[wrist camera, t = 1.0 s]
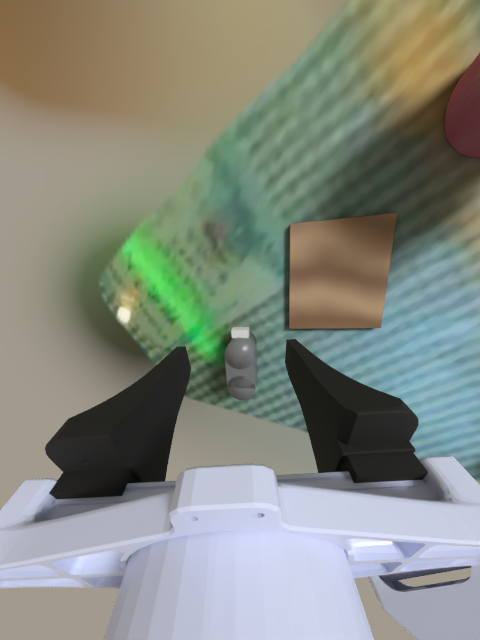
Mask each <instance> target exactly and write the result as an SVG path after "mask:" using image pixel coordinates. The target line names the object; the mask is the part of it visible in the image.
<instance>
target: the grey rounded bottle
mask: <svg viewBox="0 0 480 640" xmlns="http://www.w3.org/2000/svg"><path fill="white" fill-rule="evenodd" d="M231 334H232V339H231V341H230V343H229V344H228V346H227V348H226V350H225V354H224V356H225V367H226V378H227V389H228V392H229V393H230V395H231V396H232V397H234V398H236V399H238V400H247V399H249V398H251V397H252V396H253V395H254V393H255V386H256V379H257V345H256V338H255V336H254V335H253V334H252V333H251V332H249V327H233V328H232V330H231Z"/></svg>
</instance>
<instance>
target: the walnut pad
mask: <svg viewBox="0 0 480 640" xmlns="http://www.w3.org/2000/svg"><path fill="white" fill-rule="evenodd" d="M396 220H397V213H390V214H380V215H370V216H361V217H351V218H341V219H332V220H322V221H312V222H302V223H293V224H290V257H289V329H311V328H381V322H382V315H383V308H384V301H385V295H386V288H387V281H388V274H389V267H390V261H391V254H392V247H393V240H394V233H395V226H396Z"/></svg>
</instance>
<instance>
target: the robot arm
mask: <svg viewBox="0 0 480 640" xmlns="http://www.w3.org/2000/svg"><path fill="white" fill-rule="evenodd" d="M285 363H286V368H287V371H288V375H289V378H290V380H291V383H292V385H293V388H294V390H295V393H296V395H297V398H298V400H299V403H300V406H301V408H302V411H303V415H304V418H305V422H306V425H307V429H308V433H309V436H310V440H311V444H312V448H313V452H314V456H315V460H316V464H317V469H318V473H310V474H293V475H292V474H291V475H275V473H274V471H273V470H272V469H271V468H269V467H267V466H265V465H261V464H235V465H217V466H200V467H193V468H188V469H186V470H185V471H183V472H182V473H180V474H179V475H178V477H177V481H165V478H166V471H167V464H168V459H169V454H170V448H171V443H172V438H173V433H174V428H175V424H176V420H177V415H178V412H179V409H180V406H181V403H182V400H183V397H184V394H185V391H186V388H187V385H188V381H189V377H190V371H191V367H190V363H189V359H188V355H187V351H186V347H185V346H184V347H176V348H175V349H174V350H173V351H172V352H171V353H170V354H169V355H168V356H167V357H165V358H164V359H163V360H162V361H161V362H160V363H159V364H158V365H157V366H156V367H154V368H153V369H152V370H151V371H150V372H148V373H147V374H146V375H145V376H144V377H142V378H141V379H139V380H138V381H137V382H135V383H134V384H132V385H131V386H130V387H128V388H126V389H125V390H123V391H122V392H120V393H118V394H117V395H115V396H113V397H112V398H110V399H108V400H107V401H105V402H103V403H101V404H99V405H97V406H95V407H93V408H91V409H89V410H87V411H85V412H82V413H80V414H78V415H76V416H74V417H71V418H69V419H68V420H67V421H66V422H65V423H64V425H63V426H62V427H61V428H60V429H59V430H58V432H57V433H56V434H55V435H54V437H52V439H51V440H50V441H49V442H48V443H47V445H46V447H45V450H46V454H47V456H48V457H49V458H50V459H51V460H52V461H53V462H54V463H55V464H56V465H57V466H58V467H59V468H60V469H61V470H62V471H63V474H62V475H61V477H60V478H59V480H56V479H51V478H46V479H28V480H26V481H24V483H23V484H22V485H21V486H20V488H19V489H18V490H17V491H16V493H15V494H14V495H13V496H12V497H11V499H10V500H9V501H8V502H7V503H6V505H5V506H4V507H3V508H2V509H1V511H0V588H17V587H79V588H119V593H118V596H117V599H116V602H115V605H114V608H113V611H112V614H111V617H110V621H109V624H108V627H107V630H106V633H105V636H104V640H374V639H373V636H372V633H371V630H370V627H369V624H368V621H367V618H366V615H365V612H364V609H363V605H362V603H361V600H360V596H359V593H358V591H357V587H356V585H355V582H354V578H361V577H368V578H369V580H370V583H371V585H372V587H373V589H374V592H375V594H376V596H377V598H378V600H379V601H380V602H381V605H382V607H383V609H384V610H385V612H386V613H387V614H389V616H391V618H393V619H394V620H395V621H396V622H397V623H398V624H399V625H401V626H402V627H403V628H404V629H405V630H407V631H408V632H409V633H410V634H411V635H413V636H414V637H415V638H416V639H417V640H480V485H479V484H478V483H477V482H476V481H475V480H474V478H473V477H472V476H471V475H470V474H469V473H468V472H467V471H466V470H465V469H464V468H463V467H462V466H461V465H460V464H459V462H458V461H457V460H456V459H455V458H454V457H452V456H439V457H426V458H423V459H420V460H418V458H417V457H416V456H415V454H414V453H413V452H415V448H414V447H413V446H412V444H411V443H410V442H409V440H410V439H411V437H412V435H413V434H414V432H415V431H416V429H417V426H418V418H417V416H416V415H415V414H414V413H413V412H412V411H411V409H410V408H409V407H408V406H407V405H406V404H405V403H404V402H403V401H402V400H401V399H400V398H397V397H394V396H391V395H389V394H386V393H383V392H380V391H378V390H375V389H373V388H371V387H368V386H366V385H364V384H361V383H359V382H357V381H355V380H353V379H351V378H349V377H347V376H345V375H344V374H342V373H340V372H338V371H337V370H335V369H333V368H332V367H330V366H329V365H327V364H326V363H324V362H323V361H321V360H320V359H319V358H317V357H316V356H315V355H314V354H312V353H311V352H310V351H309V350H307V349H306V348H305V347H304V346H303V345H302V344H300V343H299V342H298V341H297V340H296V339H291V340H287V342H286V358H285ZM470 567H472V571H471V576H470V577H468V578H467V579H462V580H456V581H449V582H443V583H437V584H431V585H425V586H419V587H411V586H406V585H404V584H402V583H401V582H400V581H398V580H402V579H407V578H412V577H419V576H424V575H430V574H436V573H442V572H447V571H453V570H459V569H464V568H470Z"/></svg>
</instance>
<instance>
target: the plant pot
mask: <svg viewBox="0 0 480 640" xmlns="http://www.w3.org/2000/svg"><path fill="white" fill-rule="evenodd" d="M444 122H445V132H446V137H447V139H448V141H449V143H450V144H451V146H452V147H453V148H454V149H455V150H456V151H458V152H459V153H461V154H462V155H465V156H468V157H473V158H480V53H479V55H478V56H477V57H476V59H475V60H474V61H473V63H472V64H471V65H470V66H469V68H468V69H467V70H466V72H465V73H464V74H463V75H462V77H461V78H460V80H459V81H458V83H457V85H456V86H455V88H454V90H453V92H452V94H451V96H450V99H449V102H448V104H447V108H446V113H445V121H444Z"/></svg>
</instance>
